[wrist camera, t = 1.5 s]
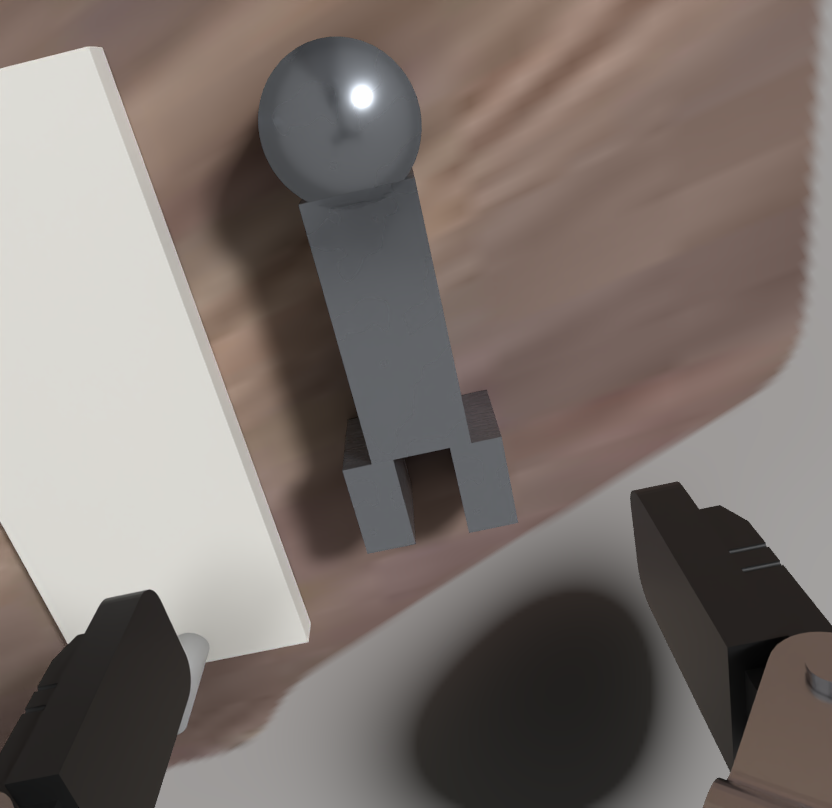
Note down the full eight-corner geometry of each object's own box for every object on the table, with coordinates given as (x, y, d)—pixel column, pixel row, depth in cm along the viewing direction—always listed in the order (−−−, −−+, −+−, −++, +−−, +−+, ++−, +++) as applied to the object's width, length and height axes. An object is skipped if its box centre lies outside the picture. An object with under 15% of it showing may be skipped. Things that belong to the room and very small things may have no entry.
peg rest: (-192, 121, 24) (-334, 135, 19) (102, 47, 23) (30, 43, 19) (100, 665, 34) (54, 762, 29) (310, 623, 33) (298, 715, 29)
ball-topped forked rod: (244, 63, 24) (218, 63, 20) (414, 21, 23) (419, 13, 20) (369, 495, 31) (367, 553, 27) (501, 467, 30) (518, 522, 27)
